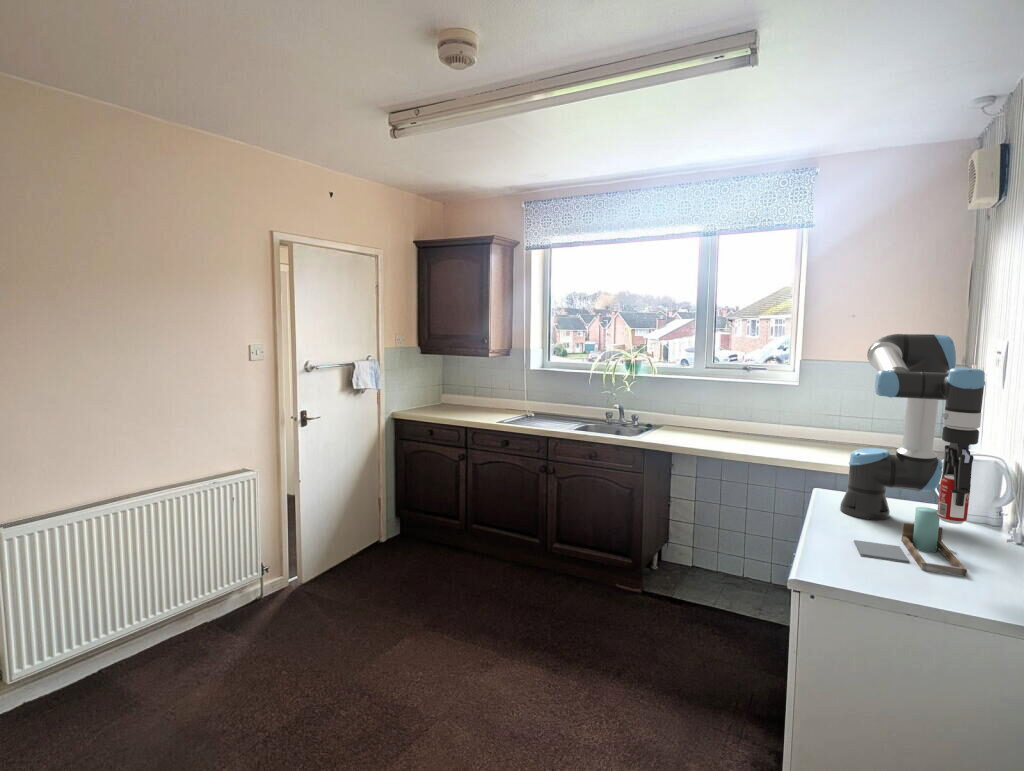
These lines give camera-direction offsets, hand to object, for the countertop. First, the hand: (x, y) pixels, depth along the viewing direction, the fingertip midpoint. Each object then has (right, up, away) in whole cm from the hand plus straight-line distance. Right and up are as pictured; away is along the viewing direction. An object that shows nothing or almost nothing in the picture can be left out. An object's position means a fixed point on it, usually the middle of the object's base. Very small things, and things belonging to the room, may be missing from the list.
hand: (952, 512), depth 153 cm
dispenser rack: (+5, -16, +15) cm, 23 cm away
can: (+8, -16, +22) cm, 28 cm away
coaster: (-7, -16, +19) cm, 25 cm away
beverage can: (0, -2, +1) cm, 2 cm away
